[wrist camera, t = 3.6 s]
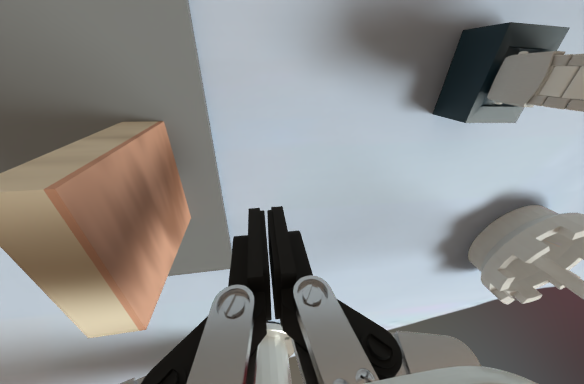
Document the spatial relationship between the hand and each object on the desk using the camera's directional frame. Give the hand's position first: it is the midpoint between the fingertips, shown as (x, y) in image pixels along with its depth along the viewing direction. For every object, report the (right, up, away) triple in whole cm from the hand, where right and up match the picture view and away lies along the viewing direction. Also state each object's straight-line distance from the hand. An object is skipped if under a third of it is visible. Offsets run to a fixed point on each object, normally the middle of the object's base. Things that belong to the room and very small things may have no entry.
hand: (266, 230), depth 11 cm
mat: (-13, +3, +5) cm, 14 cm away
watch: (+15, +11, +6) cm, 20 cm away
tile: (-9, +3, +5) cm, 10 cm away
